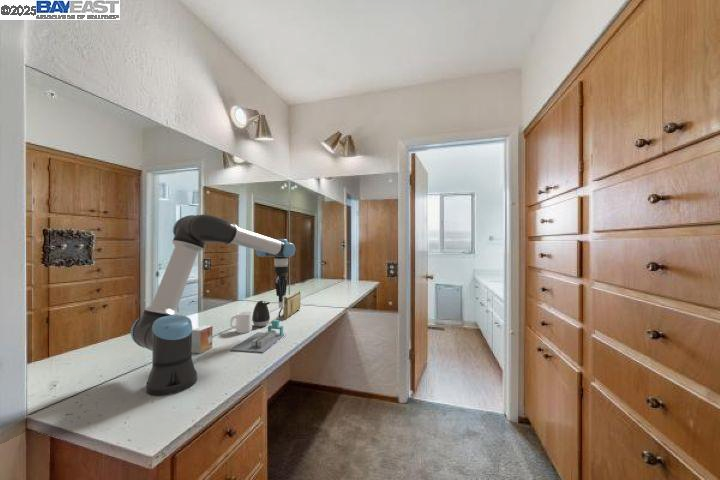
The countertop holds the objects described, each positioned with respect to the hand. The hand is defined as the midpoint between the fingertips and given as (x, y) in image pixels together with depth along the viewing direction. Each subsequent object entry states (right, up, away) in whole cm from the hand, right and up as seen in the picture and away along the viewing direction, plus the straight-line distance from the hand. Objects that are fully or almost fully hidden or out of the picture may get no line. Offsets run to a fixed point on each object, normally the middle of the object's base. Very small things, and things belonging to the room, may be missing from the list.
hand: (281, 307), depth 161 cm
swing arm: (-4, -13, -19) cm, 24 cm away
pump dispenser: (-16, -14, +11) cm, 24 cm away
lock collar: (-1, -13, -7) cm, 15 cm away
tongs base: (-2, -13, -18) cm, 23 cm away
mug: (-23, -14, 0) cm, 27 cm away
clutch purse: (-5, -15, +38) cm, 41 cm away
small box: (-30, -14, -28) cm, 43 cm away
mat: (-6, -14, -18) cm, 23 cm away
